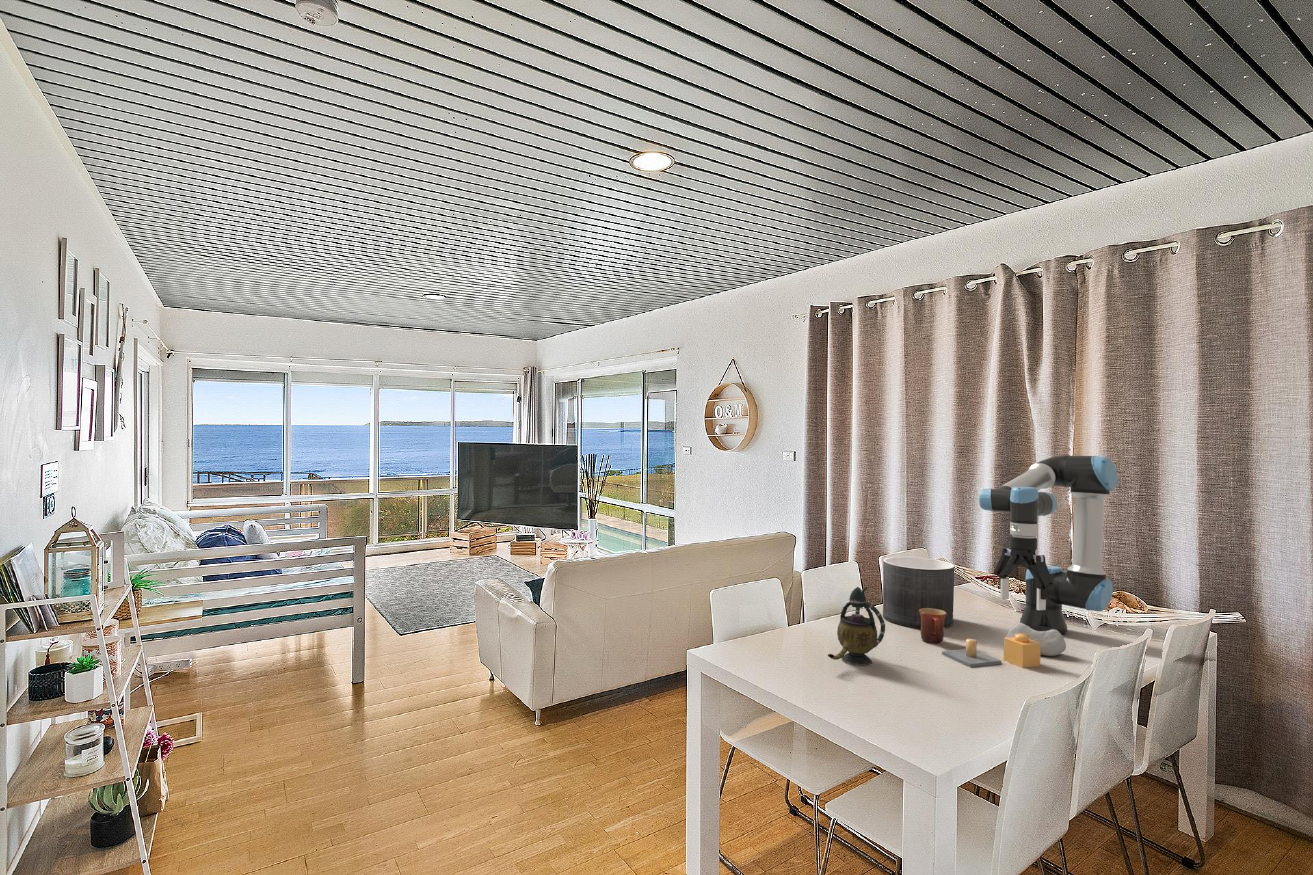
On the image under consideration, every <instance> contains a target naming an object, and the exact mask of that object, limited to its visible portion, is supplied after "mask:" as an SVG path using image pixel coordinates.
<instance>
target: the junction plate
mask: <svg viewBox="0 0 1313 875" xmlns="http://www.w3.org/2000/svg"><path fill="white" fill-rule="evenodd" d="M977 643H978V642H977V639H973V638H966V639H965V648H962V649H953V650H944V651H942V650H941V655H942V656H944V657H946V658H949V659H951V660H952V661H953V660H954V661H955V662H958V663H960V664H962V665H964V666H965V667H966V666H967V667H969V668H976V667H984V666H985V667H986V666H992V665H993V666H994V665H1002V662H1003V661H1002V660H1001V659H1000V658H999V659H998V658H996V657H995V656H994V657H993V656H992V655H989V654H987V653H984V652H981V651H979V650H977V649H978V648H977V645H978V644H977Z"/></svg>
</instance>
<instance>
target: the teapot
mask: <svg viewBox="0 0 1313 875" xmlns="http://www.w3.org/2000/svg"><path fill="white" fill-rule="evenodd" d="M867 590H868V587H864V588H863V589H861V588H860V587H859V586H856V587H855V588H854V589H853V590H852V591H851V593H850V594H849V598H848V601H849V602H846V603H845V605H844V606H843V607H842V610H841V612H840V619H839V623H838V626H837V632H836V634H837V640H838V642H839V644H840V645H841V647H842V648H841V650H840V652H838V653H837V654H833V653H828V654H827V657H828V658H830V659H832V660H836V661H838V660H840V659H841V661H842V662H843V663H845V664H848V665H850V666H856V667H868V666H872V664H873V660H872V659H871V658H870V657H869V656H868V655H866V654H868V653H869V652H870V651H872V650H873V649H875V648H877V647H878V645H879V644H881V643H882V641H883V639H884V637H885V632H886V623H885V620H884V617H883V615H882V613H880V611H879V609H878V608H877V607H876V606H875V605H873V604H872V603H871V602H868V601H867V598H866V595H865V591H867ZM850 606H851V607H852V608H855V610H854V611H855V613H853V614H851V615H846V614H847V610H848V608H849V607H850ZM862 608H864V609H865V611H866V612H867V615H868V617H865V616H864V614H860V612H861V609H862ZM873 613H874V614H873ZM874 615H875V616H876V618H877V619H878V621H879V625H880V631H879V634H878V629H877V626H876V622H875V621H876V620H875V617H874Z"/></svg>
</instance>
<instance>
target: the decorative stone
mask: <svg viewBox="0 0 1313 875" xmlns="http://www.w3.org/2000/svg"><path fill="white" fill-rule="evenodd" d="M1015 634H1026V635H1029V636H1030V640H1033V641H1036V642H1039V643H1041V647H1040V656H1046V657H1054V656H1058V655H1060V654H1062V653H1064V652H1065V651H1066V649H1067V643H1066V641H1065V638H1064V636H1063V634H1062V635H1061V634H1060V632H1059V631H1057V630H1053V629H1052V630H1049V631H1036V630H1033V629H1031V628H1030V627H1028V626H1027V625H1025V624H1023V623H1020V622H1018V623H1016V624H1015V625H1014V626H1012V627H1011V628H1010V629H1009V631H1008V633H1007V634H1006V635H1005V637H1004V638H1010V637H1015Z"/></svg>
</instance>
